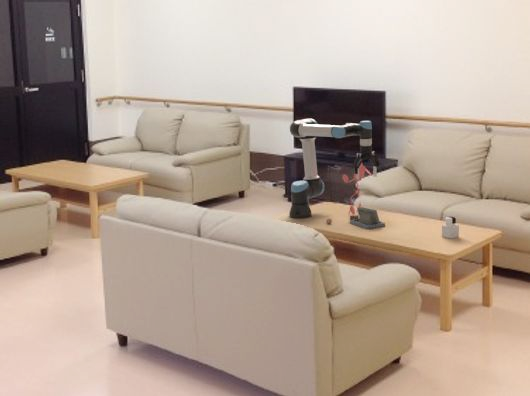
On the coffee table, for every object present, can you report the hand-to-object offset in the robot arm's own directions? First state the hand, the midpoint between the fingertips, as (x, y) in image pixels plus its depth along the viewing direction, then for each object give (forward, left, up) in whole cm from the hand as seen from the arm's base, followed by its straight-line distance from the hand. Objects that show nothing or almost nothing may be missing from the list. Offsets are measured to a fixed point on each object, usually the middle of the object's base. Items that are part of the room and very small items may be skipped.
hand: (366, 177), depth 509 cm
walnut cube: (-4, -7, -29) cm, 30 cm away
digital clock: (+9, -5, -28) cm, 30 cm away
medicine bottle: (+62, +17, -29) cm, 70 cm away
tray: (+9, -6, -29) cm, 31 cm away
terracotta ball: (-8, -24, -29) cm, 38 cm away
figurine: (-18, +8, -29) cm, 35 cm away
